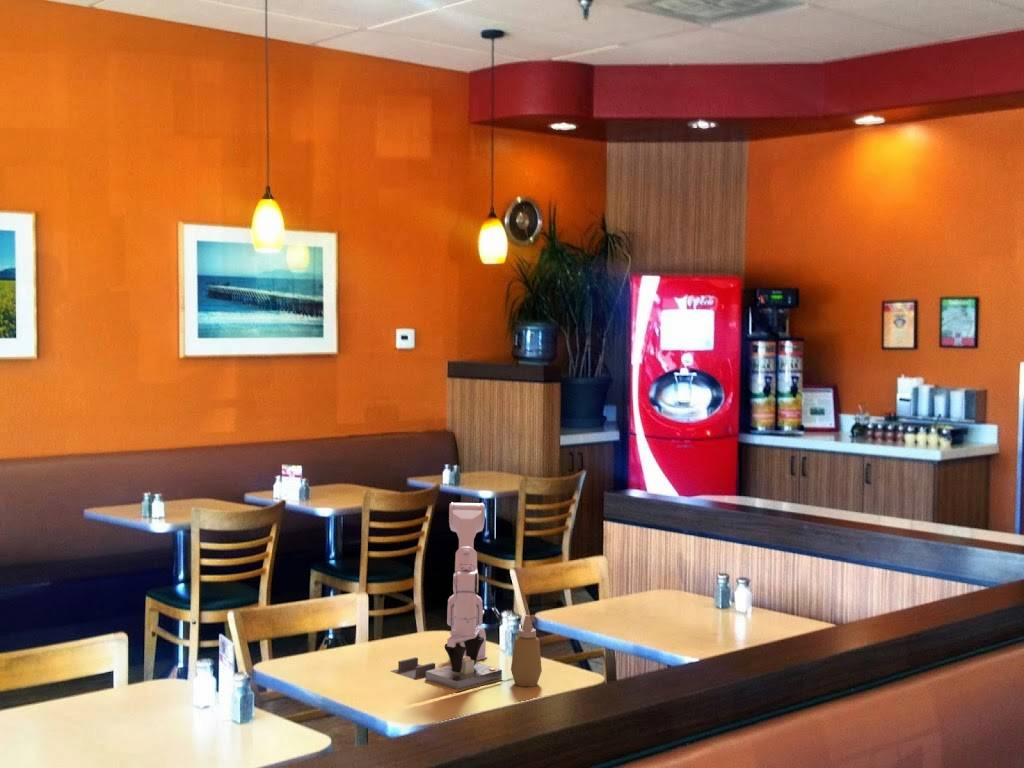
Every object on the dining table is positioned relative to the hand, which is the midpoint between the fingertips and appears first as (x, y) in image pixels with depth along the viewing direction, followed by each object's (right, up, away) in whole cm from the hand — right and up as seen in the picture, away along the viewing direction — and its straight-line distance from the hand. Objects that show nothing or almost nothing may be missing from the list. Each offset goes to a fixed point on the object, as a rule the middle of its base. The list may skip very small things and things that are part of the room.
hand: (464, 668), depth 330 cm
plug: (0, -4, 0) cm, 4 cm away
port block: (0, -4, 0) cm, 4 cm away
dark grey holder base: (-13, -3, +6) cm, 14 cm away
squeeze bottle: (+16, -4, 0) cm, 17 cm away
